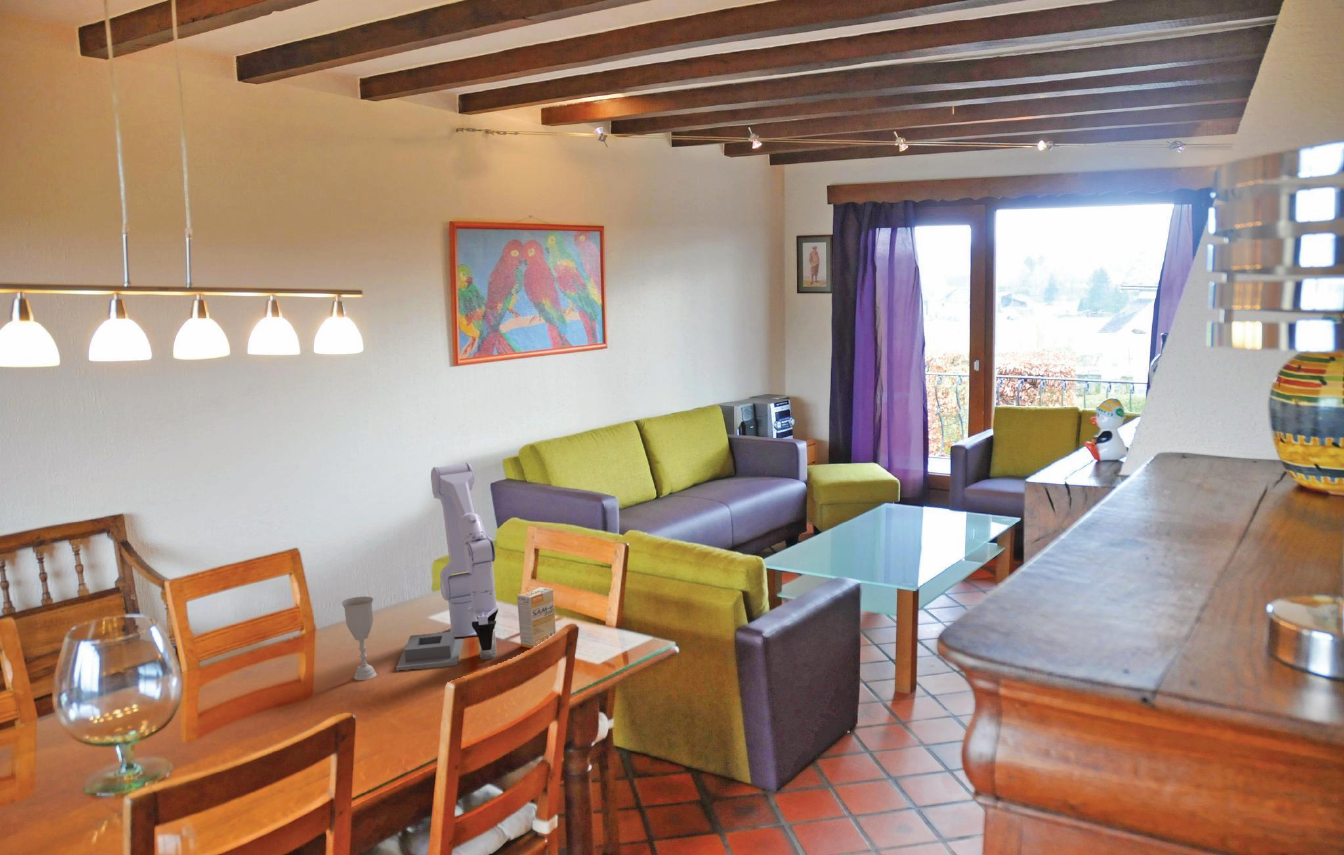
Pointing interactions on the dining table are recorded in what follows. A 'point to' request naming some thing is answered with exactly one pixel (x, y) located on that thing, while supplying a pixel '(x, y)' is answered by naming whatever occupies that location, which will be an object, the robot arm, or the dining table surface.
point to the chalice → (360, 629)
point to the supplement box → (536, 616)
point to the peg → (489, 653)
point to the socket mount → (430, 651)
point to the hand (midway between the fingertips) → (487, 644)
